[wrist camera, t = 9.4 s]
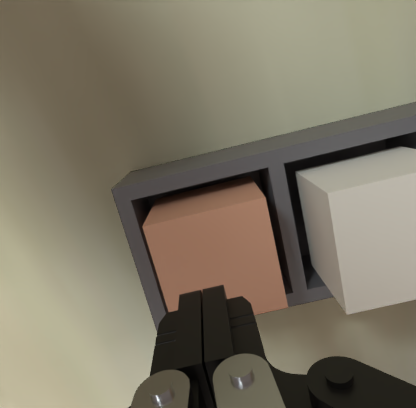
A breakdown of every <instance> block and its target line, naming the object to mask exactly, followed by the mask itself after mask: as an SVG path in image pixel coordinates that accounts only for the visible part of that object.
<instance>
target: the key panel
mask: <svg viewBox="0 0 416 408" xmlns="http://www.w3.org/2000/svg"><path fill="white" fill-rule="evenodd" d="M398 146H402V147H407V148H412V149H416V102H414V103H410V104H405V105H401V106H397V107H393V108H389V109H385V110H381V111H377V112H373V113H369V114H365V115H361V116H357V117H352V118H348V119H344V120H340V121H336V122H332V123H328V124H324V125H320V126H316V127H312V128H308V129H304V130H299V131H295V132H291V133H287V134H283V135H279V136H275V137H271V138H267V139H263V140H259V141H255V142H251V143H246V144H242V145H238V146H234V147H230V148H226V149H222V150H218V151H214V152H210V153H206V154H202V155H198V156H193V157H189V158H185V159H181V160H177V161H173V162H169V163H165V164H161V165H157V166H153V167H149V168H145V169H141V170H136V171H132V172H130V173H129V174H128V175H127V176H125V177H124V178H123V179H122V180H121V181H120V182H119V183H118V184H117V185H115V186H114V187H113V188H112V189H111V191H112V194H113V197H114V200H115V203H116V206H117V209H118V212H119V215H120V218H121V222H122V225H123V228H124V231H125V234H126V237H127V240H128V243H129V246H130V249H131V253H132V256H133V259H134V262H135V265H136V268H137V271H138V274H139V277H140V280H141V284H142V287H143V290H144V293H145V296H146V299H147V302H148V305H149V308H150V311H151V315H152V318H153V321H154V324H155V327H156V330H157V331H158V326H159V323H160V321H161V320H162V318H163V317H164V316H165V314H166V313H168V308H167V305H166V302H165V299H164V295H163V292H162V289H161V286H160V282H159V279H158V276H157V273H156V269H155V266H154V263H153V260H152V256H151V253H150V250H149V247H148V243H147V240H146V237H145V234H144V230H143V227H142V226H143V224H144V222H145V220H146V218H147V216H148V214H149V212H150V210H151V208H152V206H153V204H154V202H155V200H156V199H157V198H161V197H166V196H170V195H174V194H178V193H182V192H186V191H190V190H195V189H199V188H203V187H207V186H211V185H215V184H219V183H224V182H228V181H232V180H236V179H240V178H244V177H248V176H251V178H252V179H253V181H254V182H255V183H256V185H257V186H258V188H259V189H260V190H261V192H262V193H263V195H264V196H265V197H266V202H267V207H268V212H269V217H270V221H271V226H272V231H273V236H274V241H275V246H276V251H277V255H278V260H279V265H280V270H281V275H282V280H283V285H284V289H285V294H286V299H287V304H288V307H290V306H295V305H299V304H304V303H308V302H313V301H317V300H322V299H326V298H331V297H334V296H333V295H332V293H331V292H330V290H329V289H328V287H327V286H326V285H325V283H324V282H323V280H322V279H321V277H320V276H319V275H318V273H317V272H316V270H315V269H314V268H313V266H312V263H311V257H310V252H309V246H308V240H307V235H306V229H305V224H304V218H303V213H302V207H301V201H300V196H299V190H298V185H297V179H296V173H295V171H299V170H303V169H307V168H311V167H315V166H319V165H324V164H328V163H332V162H336V161H340V160H344V159H349V158H353V157H357V156H361V155H365V154H369V153H373V152H378V151H382V150H386V149H390V148H394V147H398Z"/></svg>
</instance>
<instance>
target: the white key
mask: <svg viewBox="0 0 416 408" xmlns="http://www.w3.org/2000/svg"><path fill="white" fill-rule="evenodd" d="M295 173H296V179H297V185H298V190H299V196H300V201H301V207H302V213H303V218H304V224H305V229H306V235H307V240H308V246H309V252H310V257H311V263H312V266H313V268H314V269H315V270H316V272H317V273H318V275H319V276H320V277H321V279H322V280H323V282H324V283H325V285H326V286H327V287H328V289H329V290H330V292H331V293H332V295H333V296H334V297H335V299H336V300H337V302H338V303H339V304H340V306H341V307H342V309H343V310H344V312H345V313H346V314H347V315H348V314H353V313H357V312H362V311H366V310H371V309H375V308H380V307H385V306H389V305H394V304H398V303H403V302H407V301H412V300H416V149H412V148H407V147H402V146H398V147H394V148H390V149H386V150H382V151H378V152H373V153H369V154H365V155H361V156H357V157H353V158H349V159H344V160H340V161H336V162H332V163H328V164H324V165H319V166H315V167H311V168H307V169H303V170H299V171H295Z"/></svg>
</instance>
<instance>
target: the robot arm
mask: <svg viewBox="0 0 416 408" xmlns="http://www.w3.org/2000/svg"><path fill="white" fill-rule="evenodd" d="M155 344H156V346H155V349H154V355H153V360H152V366H151V372H150V377H148V378H147V379H146V380H144V381H143V382H142V383H141V384H140V386H139V387H138V388H137V390H136V392H135V394H134V397H133V401H132V404H131V406H130V407H129V408H416V386H414V385H412V384H410V383H407V382H405V381H403V380H400V379H398V378H396V377H393V376H391V375H389V374H386V373H384V372H382V371H380V370H377V369H375V368H373V367H370V366H368V365H366V364H363V363H361V362H359V361H357V360H354V359H351V358H347V357H340V356H334V357H328V358H324V359H321V360H319V361H317V362H316V363H315V364H313V365H312V366H311V368H310V369H309V371H308V373H307V375H301V374H290V373H285V372H282V371H280V370H278V369H276V368H275V367H273V366H272V365H271V364H270V363H269V362H268V360H267V359H266V356H265V353H264V349H263V345H262V342H261V338H260V335H259V331H258V327H257V324H256V320H255V316H254V313H253V309H252V306H251V303H250V302H249V301H248V300H247V299H245V298H244V297H243V296H239V297H235V298H230V299H227V296H226V292H225V288H224V285H219V286H215V287H210V288H206V289H202V291H201V290H197V291H193V292H188V293H184V294H180V295H179V304H178V310H177V311H172V312H168V313H166V314H165V316H164V317H163V318H162V320H161V321H160V323H159V326H158V331H157V337H156V343H155Z"/></svg>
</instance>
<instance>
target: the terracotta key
mask: <svg viewBox="0 0 416 408" xmlns="http://www.w3.org/2000/svg"><path fill="white" fill-rule="evenodd" d="M142 227H143V230H144V234H145V237H146V240H147V243H148V247H149V250H150V253H151V256H152V260H153V263H154V266H155V269H156V273H157V276H158V279H159V282H160V286H161V289H162V292H163V295H164V299H165V302H166V305H167V308H168V312H172V311H177V310H178V304H179V295H180V294H184V293H188V292H193V291H197V290H201V291H202V289H206V288H210V287H215V286H219V285H224V288H225V292H226V296H227V299H230V298H235V297H239V296H243V297H244V298H245V299H247V300H248V301H249V302H250V303H251V306H252V309H253V313H254V315H257V314H262V313H266V312H271V311H275V310H280V309H284V308H288V304H287V299H286V294H285V289H284V285H283V280H282V275H281V270H280V265H279V260H278V255H277V251H276V246H275V241H274V236H273V231H272V226H271V221H270V217H269V212H268V207H267V202H266V197H265V196H264V195H263V193H262V192H261V190H260V189H259V188H258V186H257V185H256V183H255V182H254V181H253V179H252V178H251V176H248V177H244V178H240V179H236V180H232V181H228V182H224V183H219V184H215V185H211V186H207V187H203V188H199V189H195V190H190V191H186V192H182V193H178V194H174V195H170V196H166V197H161V198H157V199H156V200H155V202H154V204H153V206H152V208H151V210H150V212H149V214H148V216H147V218H146V220H145V222H144V224H143V226H142Z"/></svg>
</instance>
